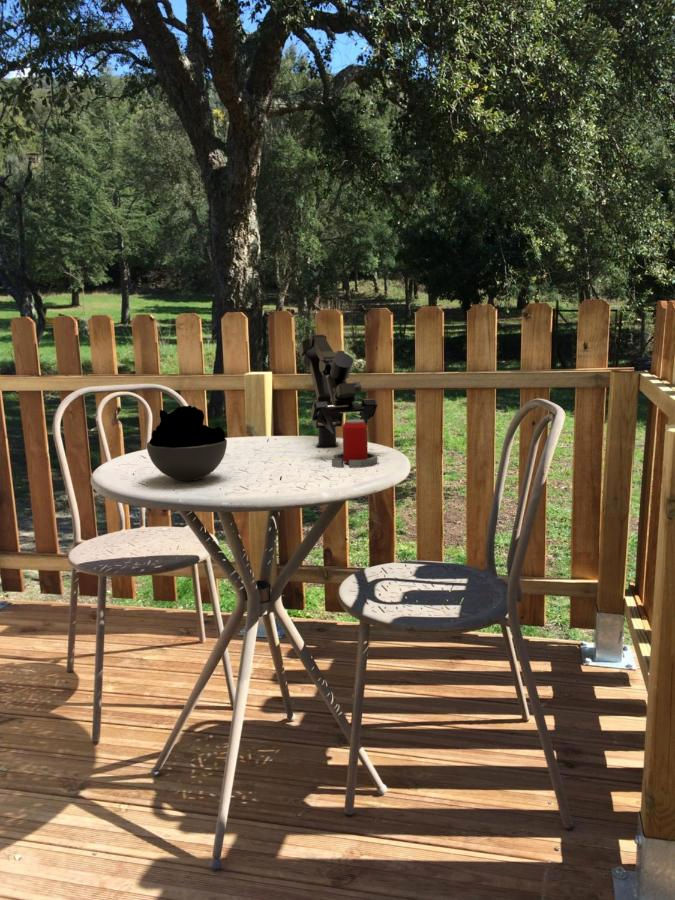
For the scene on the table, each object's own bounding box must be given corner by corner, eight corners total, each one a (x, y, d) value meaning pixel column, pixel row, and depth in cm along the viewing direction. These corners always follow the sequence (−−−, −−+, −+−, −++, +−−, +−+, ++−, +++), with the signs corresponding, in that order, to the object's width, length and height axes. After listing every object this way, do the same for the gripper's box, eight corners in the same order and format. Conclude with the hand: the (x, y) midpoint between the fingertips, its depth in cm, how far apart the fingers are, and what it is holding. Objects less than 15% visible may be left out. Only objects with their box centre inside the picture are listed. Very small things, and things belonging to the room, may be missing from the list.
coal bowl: (220, 469, 206) (216, 400, 203) (236, 483, 188) (232, 408, 184) (144, 476, 199) (140, 405, 196) (154, 492, 181) (148, 413, 178)
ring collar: (334, 459, 217) (334, 452, 217) (377, 458, 216) (377, 452, 216) (331, 467, 205) (331, 460, 205) (377, 467, 204) (377, 459, 204)
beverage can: (357, 460, 216) (356, 418, 213) (372, 463, 210) (371, 420, 208) (338, 463, 212) (337, 420, 210) (353, 466, 206) (352, 422, 204)
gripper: (312, 373, 214) (322, 417, 206) (375, 371, 219) (387, 413, 210) (306, 398, 223) (316, 441, 215) (367, 395, 228) (379, 437, 219)
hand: (350, 432), depth 214 cm, fingers open, 9 cm apart
